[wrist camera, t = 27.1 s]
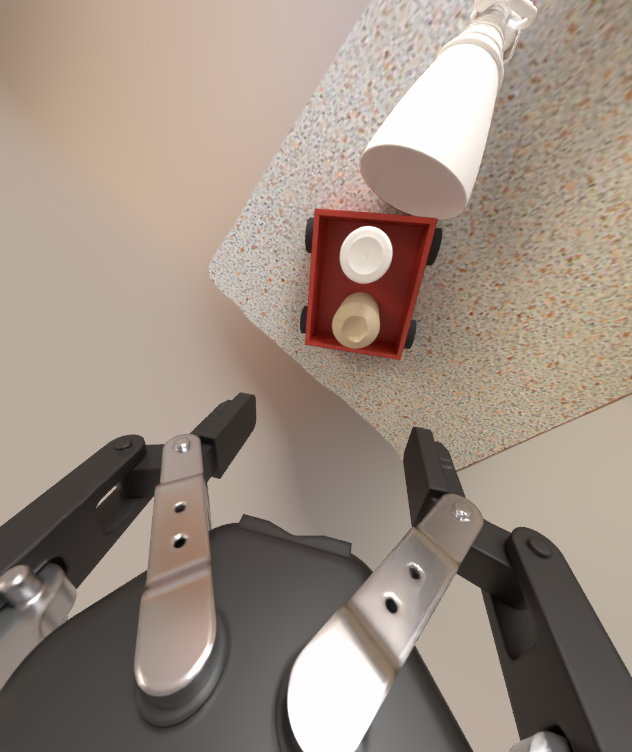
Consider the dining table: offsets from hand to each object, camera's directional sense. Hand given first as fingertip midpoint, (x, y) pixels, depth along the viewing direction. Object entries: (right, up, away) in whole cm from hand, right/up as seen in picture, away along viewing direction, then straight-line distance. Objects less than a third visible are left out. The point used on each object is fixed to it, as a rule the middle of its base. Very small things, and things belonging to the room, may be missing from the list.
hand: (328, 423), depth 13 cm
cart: (+6, +15, +23) cm, 28 cm away
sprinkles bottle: (+6, +19, +21) cm, 29 cm away
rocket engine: (+15, +29, +14) cm, 36 cm away
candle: (+6, +12, +24) cm, 28 cm away
